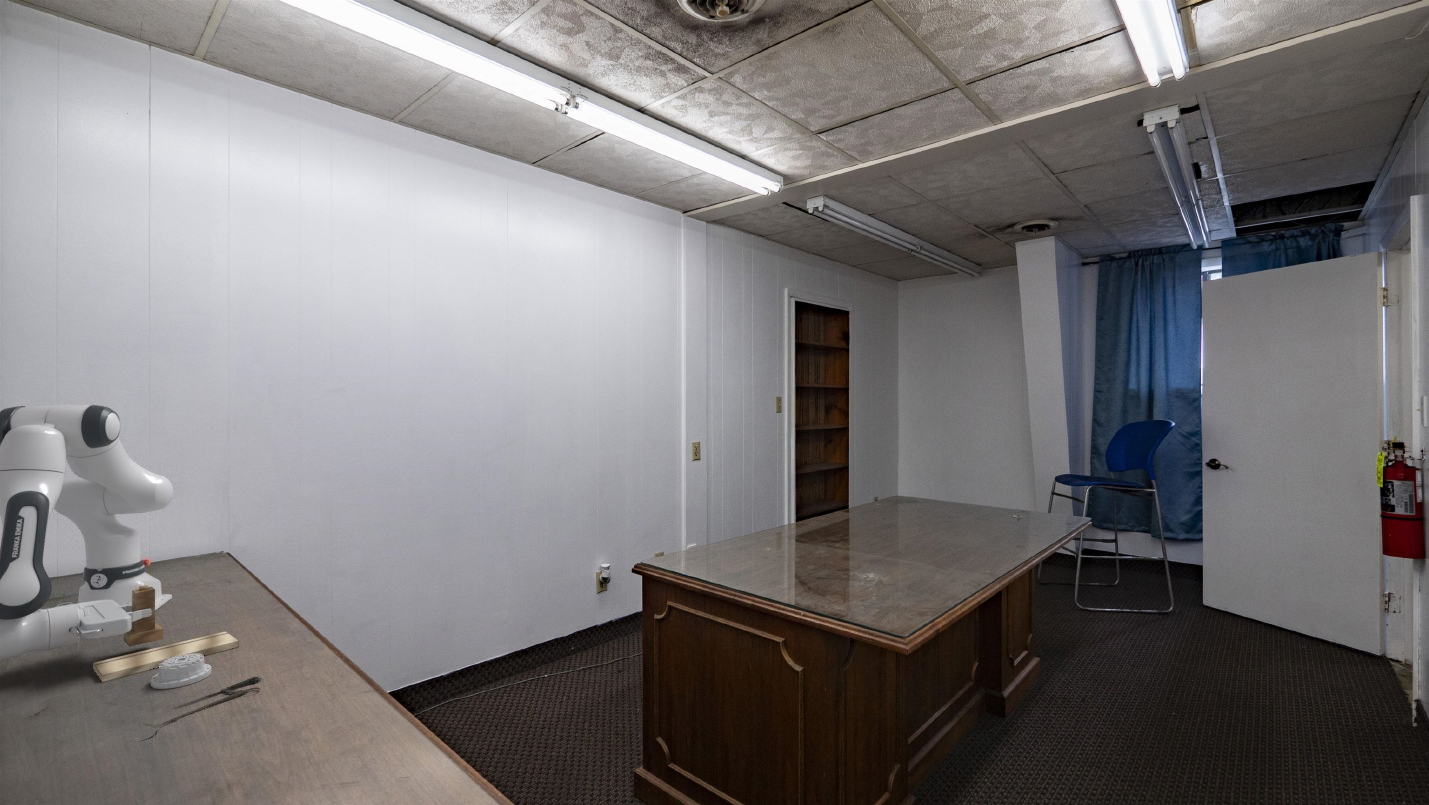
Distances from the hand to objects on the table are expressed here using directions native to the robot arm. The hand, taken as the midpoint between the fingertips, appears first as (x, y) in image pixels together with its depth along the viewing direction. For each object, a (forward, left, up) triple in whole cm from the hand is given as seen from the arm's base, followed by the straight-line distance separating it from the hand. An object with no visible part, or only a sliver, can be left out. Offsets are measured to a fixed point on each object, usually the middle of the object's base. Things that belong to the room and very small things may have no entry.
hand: (148, 609), depth 150 cm
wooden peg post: (+1, -1, -7) cm, 7 cm away
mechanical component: (+19, +17, -10) cm, 28 cm away
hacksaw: (+35, +29, -10) cm, 47 cm away
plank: (+6, +8, -10) cm, 14 cm away
